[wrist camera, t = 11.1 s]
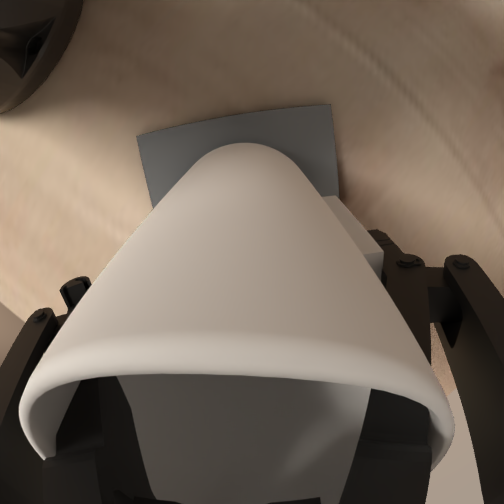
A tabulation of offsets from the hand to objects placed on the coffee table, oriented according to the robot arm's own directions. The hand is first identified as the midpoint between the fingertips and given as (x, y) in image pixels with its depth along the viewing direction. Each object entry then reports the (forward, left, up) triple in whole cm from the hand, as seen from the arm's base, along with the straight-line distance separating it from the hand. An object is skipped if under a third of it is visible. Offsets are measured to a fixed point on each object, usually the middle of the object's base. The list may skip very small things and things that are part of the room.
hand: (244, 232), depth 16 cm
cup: (0, 0, -3) cm, 3 cm away
